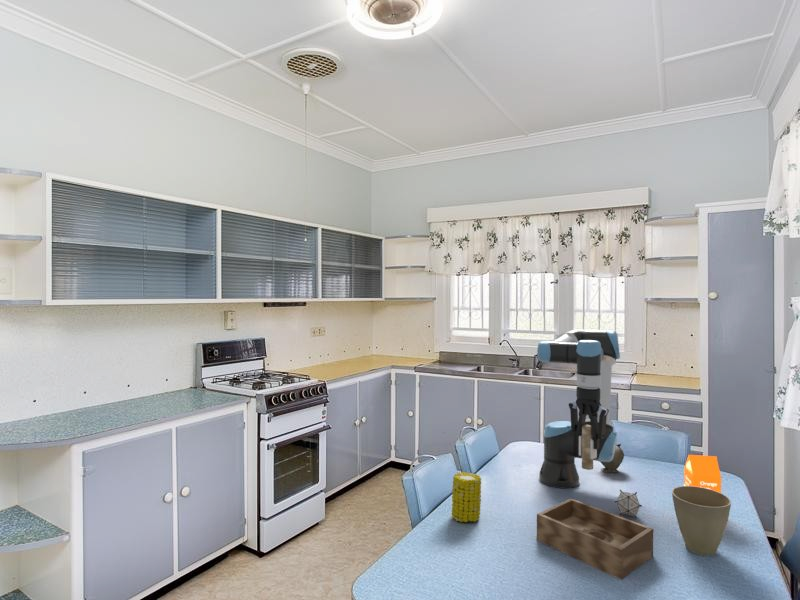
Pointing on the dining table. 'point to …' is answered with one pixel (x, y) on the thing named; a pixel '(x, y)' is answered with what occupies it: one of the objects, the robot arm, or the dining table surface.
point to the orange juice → (702, 472)
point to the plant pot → (701, 517)
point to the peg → (586, 447)
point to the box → (596, 537)
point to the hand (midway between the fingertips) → (587, 456)
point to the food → (466, 497)
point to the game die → (628, 503)
